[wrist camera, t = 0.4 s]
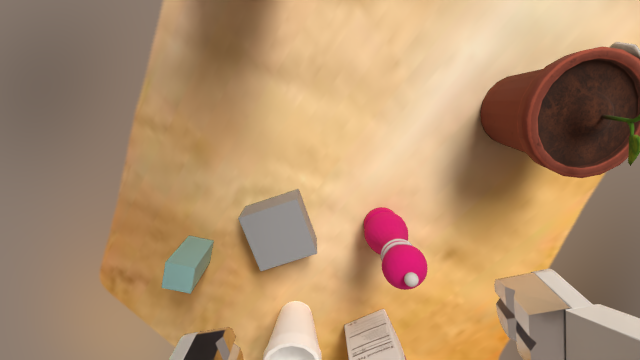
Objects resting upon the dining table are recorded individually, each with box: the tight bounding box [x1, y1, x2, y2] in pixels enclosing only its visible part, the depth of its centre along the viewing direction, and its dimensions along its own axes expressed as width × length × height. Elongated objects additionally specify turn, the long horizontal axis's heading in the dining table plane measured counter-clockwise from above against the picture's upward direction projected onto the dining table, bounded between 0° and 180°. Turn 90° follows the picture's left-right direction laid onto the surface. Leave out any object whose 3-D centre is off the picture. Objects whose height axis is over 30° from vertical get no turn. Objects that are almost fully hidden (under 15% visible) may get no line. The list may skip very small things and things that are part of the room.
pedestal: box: [238, 189, 317, 271], centre depth 57 cm, size 10×10×6 cm
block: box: [162, 236, 214, 294], centre depth 56 cm, size 4×4×10 cm
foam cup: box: [263, 301, 321, 360], centre depth 58 cm, size 10×9×13 cm
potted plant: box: [480, 42, 640, 178], centre depth 44 cm, size 18×22×25 cm
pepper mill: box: [364, 207, 427, 290], centre depth 50 cm, size 7×7×20 cm
